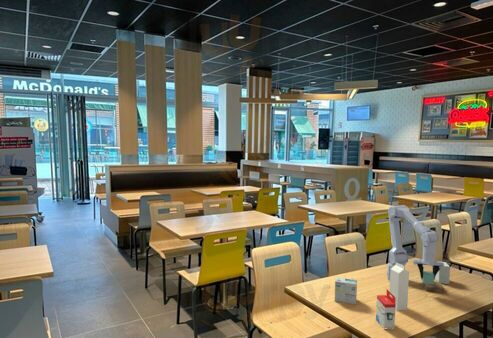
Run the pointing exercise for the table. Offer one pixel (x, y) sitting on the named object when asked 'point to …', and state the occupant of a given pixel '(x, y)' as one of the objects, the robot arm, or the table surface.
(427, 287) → the walnut slab
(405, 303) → the milk
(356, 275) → the table surface
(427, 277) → the teal block
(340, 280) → the light bulb box
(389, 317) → the ink box
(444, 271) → the small box
